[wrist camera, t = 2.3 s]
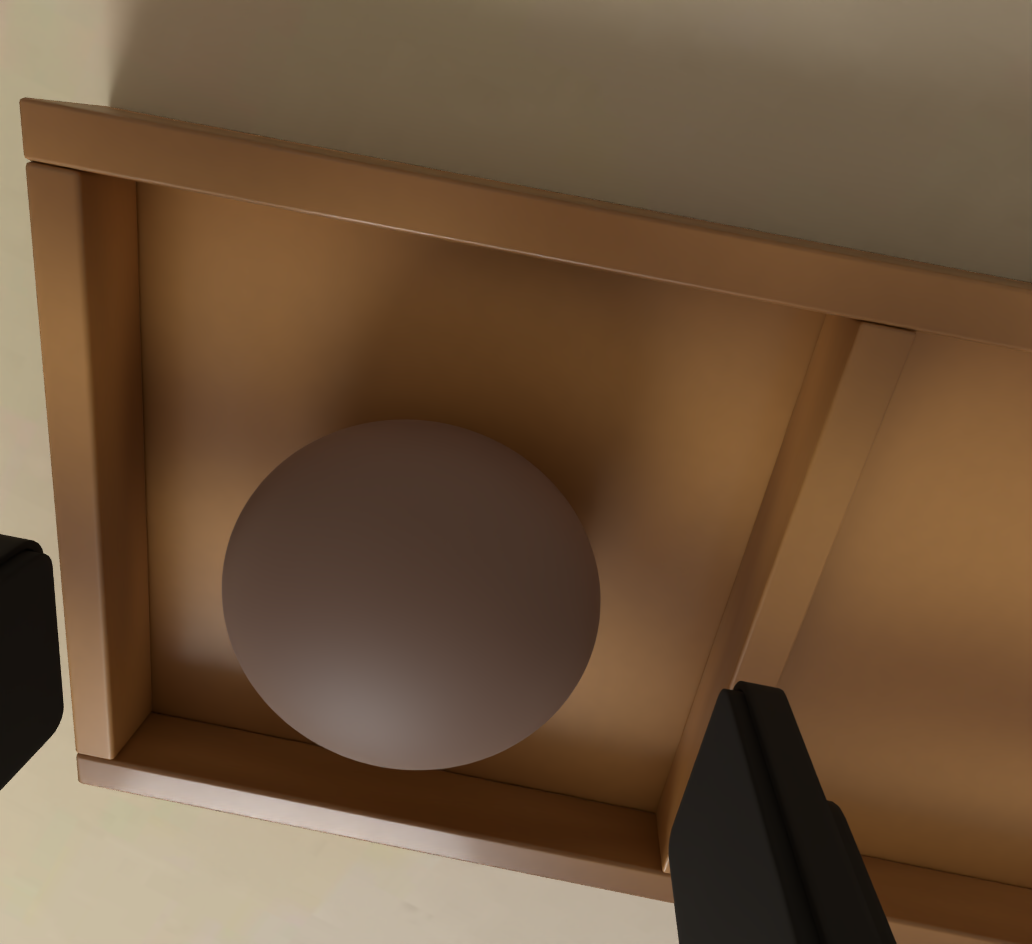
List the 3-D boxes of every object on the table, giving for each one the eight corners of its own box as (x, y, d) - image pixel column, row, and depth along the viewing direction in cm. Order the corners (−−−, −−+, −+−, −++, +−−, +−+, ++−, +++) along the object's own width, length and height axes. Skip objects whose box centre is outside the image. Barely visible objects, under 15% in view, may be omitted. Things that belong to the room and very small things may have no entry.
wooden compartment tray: (105, 105, 12) (16, 95, 10) (1638, 398, 11) (1839, 444, 10) (132, 715, 17) (77, 783, 15) (1200, 931, 16) (1277, 1027, 15)
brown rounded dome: (357, 698, 15) (284, 871, 12) (222, 444, 13) (81, 554, 10) (638, 630, 14) (657, 798, 10) (535, 338, 12) (514, 417, 8)
